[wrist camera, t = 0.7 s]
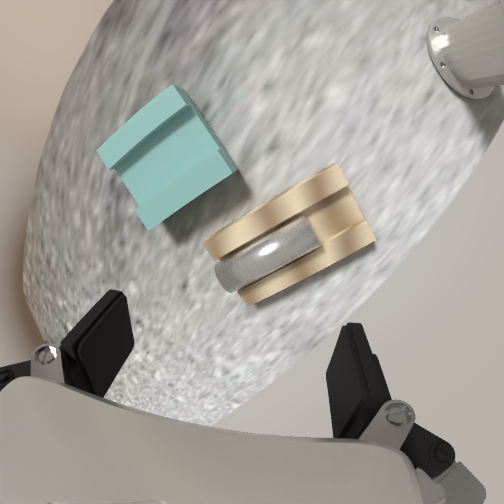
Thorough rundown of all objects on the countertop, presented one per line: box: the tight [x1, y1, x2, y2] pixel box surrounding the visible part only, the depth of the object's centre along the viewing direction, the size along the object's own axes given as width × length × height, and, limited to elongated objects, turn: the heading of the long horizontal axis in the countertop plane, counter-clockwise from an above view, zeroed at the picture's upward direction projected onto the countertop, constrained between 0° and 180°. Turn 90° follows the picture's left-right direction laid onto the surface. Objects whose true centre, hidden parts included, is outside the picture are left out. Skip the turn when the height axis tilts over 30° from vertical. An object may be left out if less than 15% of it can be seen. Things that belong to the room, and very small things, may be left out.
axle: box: [215, 214, 322, 293], centre depth 33 cm, size 12×4×4 cm, turn 123°
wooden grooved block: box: [203, 163, 375, 307], centre depth 33 cm, size 18×10×2 cm, turn 123°
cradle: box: [97, 84, 238, 231], centre depth 30 cm, size 12×12×4 cm
